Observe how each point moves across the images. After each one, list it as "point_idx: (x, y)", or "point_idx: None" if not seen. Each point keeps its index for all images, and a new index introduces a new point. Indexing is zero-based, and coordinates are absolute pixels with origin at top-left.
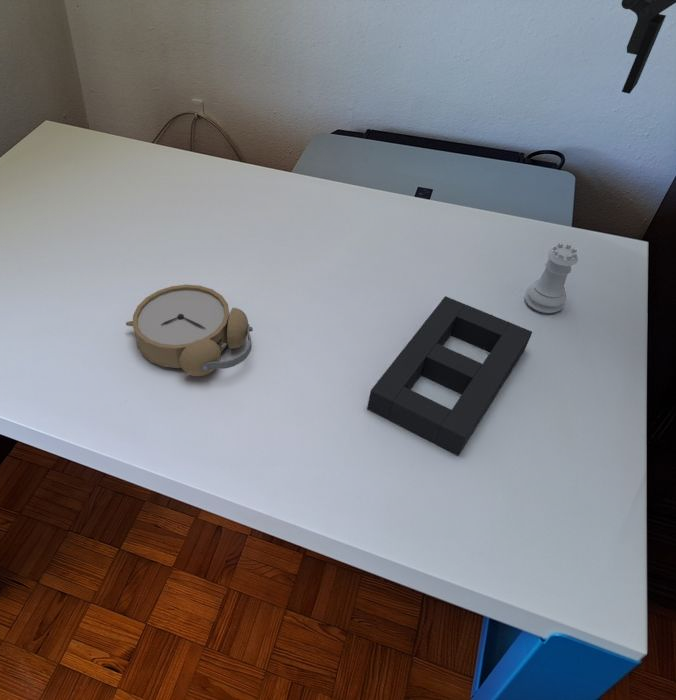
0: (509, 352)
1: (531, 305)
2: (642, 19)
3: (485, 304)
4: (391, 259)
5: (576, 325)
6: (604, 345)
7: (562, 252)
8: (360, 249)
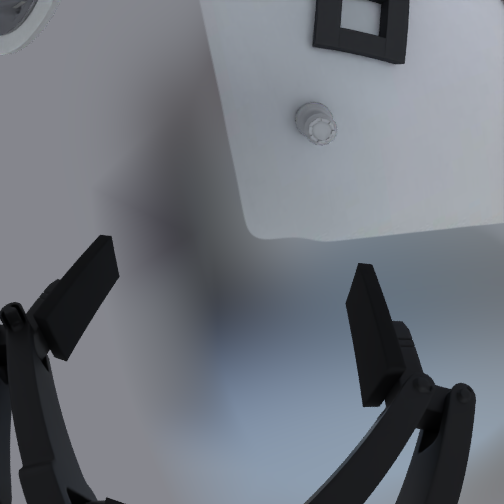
0: (326, 8)
1: (323, 105)
2: (421, 373)
3: (362, 94)
4: (452, 129)
5: (277, 102)
6: (248, 87)
7: (323, 128)
8: (476, 134)
